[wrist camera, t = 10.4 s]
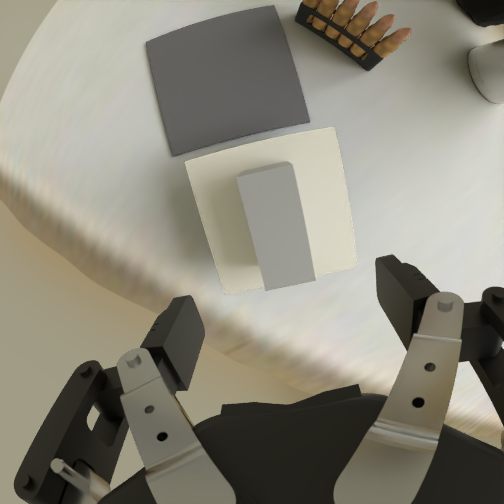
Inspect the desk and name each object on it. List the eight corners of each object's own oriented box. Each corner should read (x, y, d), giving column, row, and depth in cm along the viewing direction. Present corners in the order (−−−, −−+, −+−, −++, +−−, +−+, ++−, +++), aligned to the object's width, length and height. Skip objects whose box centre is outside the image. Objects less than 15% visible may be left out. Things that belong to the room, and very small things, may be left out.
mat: (273, 6, 23) (274, 5, 22) (309, 122, 28) (310, 121, 28) (147, 43, 25) (145, 42, 25) (174, 156, 30) (172, 156, 30)
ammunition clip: (375, 62, 25) (422, 31, 14) (368, 71, 25) (414, 42, 14) (302, 11, 23) (317, -41, 12) (294, 20, 24) (305, -32, 12)
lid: (331, 127, 23) (350, 121, 17) (354, 262, 27) (373, 291, 21) (187, 160, 24) (164, 165, 19) (226, 288, 29) (216, 323, 23)
